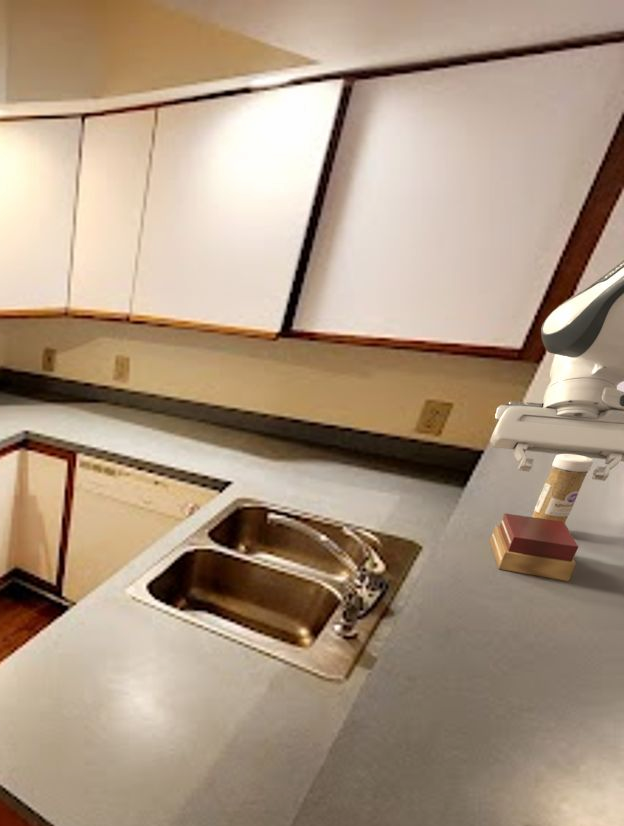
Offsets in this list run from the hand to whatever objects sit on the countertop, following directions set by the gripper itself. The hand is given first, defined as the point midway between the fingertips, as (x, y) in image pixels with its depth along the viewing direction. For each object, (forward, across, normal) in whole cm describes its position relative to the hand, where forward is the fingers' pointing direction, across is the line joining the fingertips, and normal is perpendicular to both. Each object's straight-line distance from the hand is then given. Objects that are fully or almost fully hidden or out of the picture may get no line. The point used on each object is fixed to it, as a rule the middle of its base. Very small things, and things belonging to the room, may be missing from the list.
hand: (561, 474), depth 108 cm
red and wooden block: (+20, -3, -6) cm, 21 cm away
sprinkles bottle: (+9, 0, +5) cm, 10 cm away
